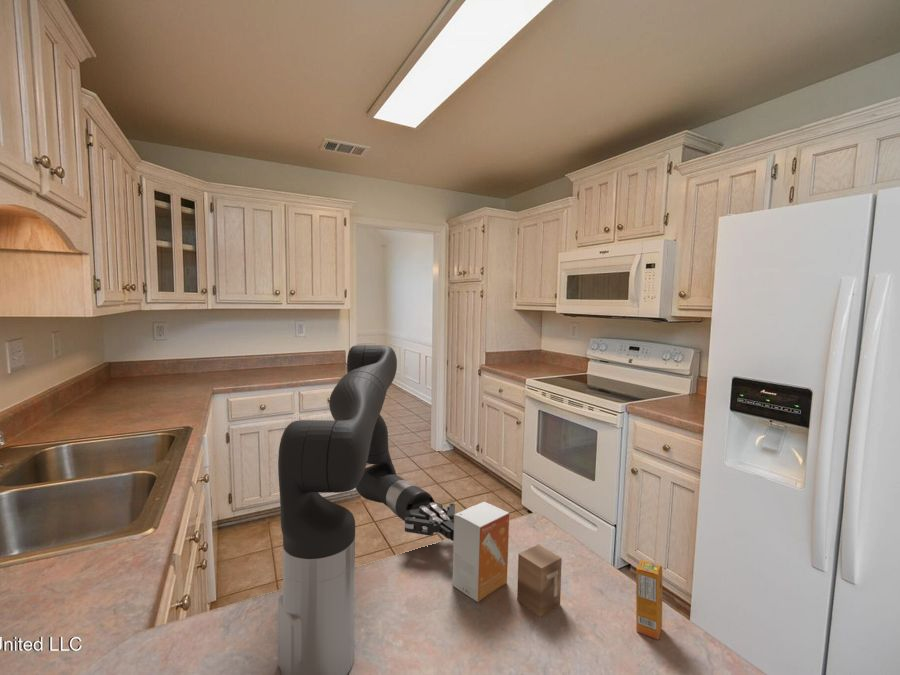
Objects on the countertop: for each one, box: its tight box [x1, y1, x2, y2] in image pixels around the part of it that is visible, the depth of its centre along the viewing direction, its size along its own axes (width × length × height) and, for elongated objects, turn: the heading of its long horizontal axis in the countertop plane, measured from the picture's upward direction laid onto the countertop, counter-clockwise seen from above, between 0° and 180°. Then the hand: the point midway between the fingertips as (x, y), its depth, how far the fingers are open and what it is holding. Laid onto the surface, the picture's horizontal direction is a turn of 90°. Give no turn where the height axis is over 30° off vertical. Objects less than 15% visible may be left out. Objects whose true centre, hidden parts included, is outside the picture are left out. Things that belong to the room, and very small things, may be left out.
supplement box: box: [635, 559, 663, 640], centre depth 63 cm, size 3×3×10 cm
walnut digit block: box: [516, 544, 563, 618], centre depth 69 cm, size 5×5×8 cm
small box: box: [451, 501, 510, 603], centre depth 73 cm, size 8×6×13 cm
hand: (456, 534), depth 79 cm, fingers closed
